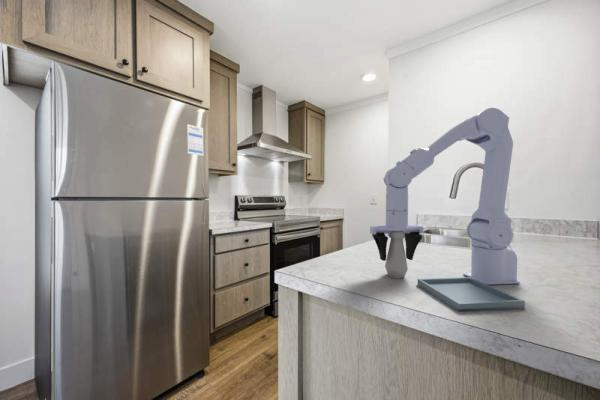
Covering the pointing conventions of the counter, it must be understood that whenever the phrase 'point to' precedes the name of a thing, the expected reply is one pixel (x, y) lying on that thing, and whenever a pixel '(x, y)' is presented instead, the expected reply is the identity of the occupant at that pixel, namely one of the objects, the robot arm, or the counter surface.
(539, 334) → the counter surface
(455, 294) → the tray
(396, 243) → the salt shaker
